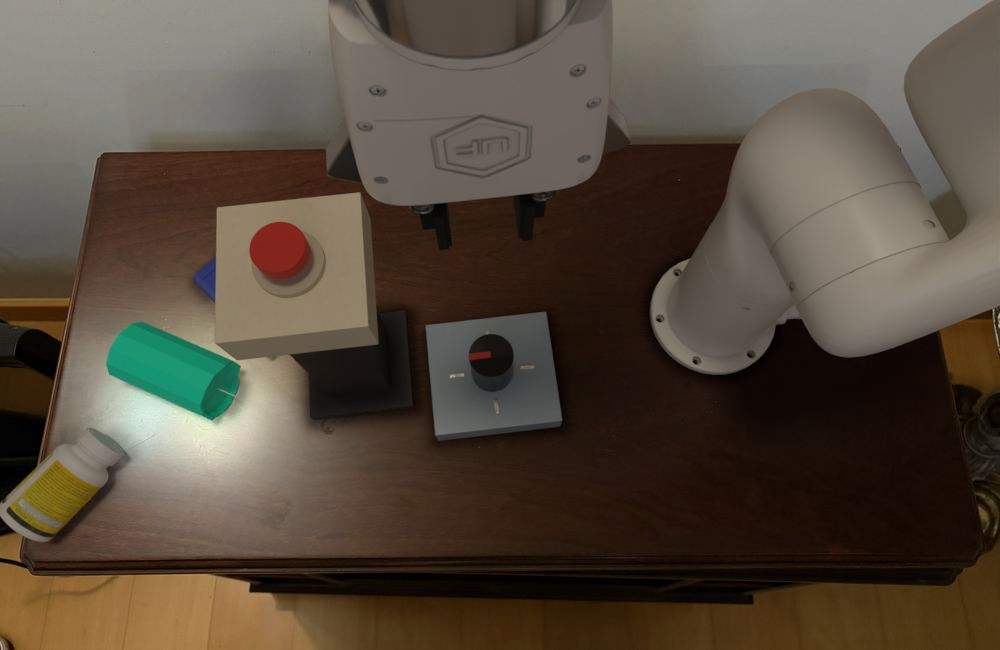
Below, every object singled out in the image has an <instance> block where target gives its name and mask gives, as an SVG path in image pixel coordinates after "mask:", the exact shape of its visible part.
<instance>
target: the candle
mask: <svg viewBox="0 0 1000 650" xmlns="http://www.w3.org/2000/svg"><path fill="white" fill-rule="evenodd" d="M105 365H106V369H107V373H108V375H110V376H111V377H114V378H115V379H118V380H120V381H122V382H124V383H127V384H129V385H131V386H134V388H135V387H136V388H138V389H140V390H142V391H144V392H147V393H149V394H151V395H154V396H156V397H157V398H160V399H163V400H165V401H166V402H168V403H171V404H173V405H175V406H178V407H180V408H183V409H185V410H187V411H189V412H191V413H193V414H195V415H198V416H200V417H203V418H205V419H207V420H210V421H214V420H216V419H217V418H219V417H220V416H222V414H223V413H224V412H225V411H226V410H228V408H229V407H230V406H231V405H232V404H233V401H234V399H235V398H236V399H237V398H238V395H237V393H238V390H239V377H240V370H241V367H242V366H241V365H240V364H239V363H237V362H235V361H234V360H232V359H230V358H228V357H225V356H223V355H221V354H218V353H216V352H214V351H211V350H209V349H207V348H205V347H202V346H200V345H198V344H196V343H193V342H191V341H188V340H186V339H184V338H181V337H179V336H177V335H176V334H175V335H174V334H172V333H170V332H168V331H165V330H163V329H161V328H158V327H156V326H154V325H151V324H149V323H147V322H145V321H138V322H134V323H133V322H132V323H130V324H129V325H127V326H126V327H125V328H124V329H123V330H121V331H120V332H119V333H118V334H117V336H116V337H115V339H114V340H113V342H112V344H110V347H109V348H108V353H107V357H106V361H105Z"/></svg>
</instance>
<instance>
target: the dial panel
mask: <svg viewBox="0 0 1000 650" xmlns="http://www.w3.org/2000/svg"><path fill="white" fill-rule="evenodd" d="M424 327H425V337H426V348H427V349H426V350H427V357H428V372H429V382H430V395H431V406H432V416H433V427H434V428H433V429H434V436H435V437H436V440H437V441H438V442H440V441H450V440H451V441H452V440H458V439H466V438H475V437H484V436H493V435H500V434H509V433H518V432H527V431H533V430H543V429H551V428H561V425H562V422H563V416H562V415H563V414H562V408H561V402H560V394H559V389H558V381H557V375H556V367H555V361H554V356H553V348H552V341H551V334H550V327H549V322H548V314H547V311H540V312H539V311H538V312H529V313H522V314H521V313H520V314H512V315H504V316H495V317H487V318H486V317H485V318H478V319H476V318H475V319H467V320H460V321H451V322H440V323H434V324H433V323H431V324H425V326H424ZM486 334H497V335H500V336H502V337H504V338H505V339H506V340H508V342H509V343H510V344H511V346H512V348H513V352H514V363H513V376H512V379H511V381H510V383H509V384H508V385H507V386H506V387H505V388H503V389H502V390H499V391H495V392H489V391H485V390H483V389H481V388H479V387H478V386H477V385H476V384H475V382H474V380H473V378H472V374H471V368H470V362H469V350H470V347H471V345H472V344H473V342H474V341H475V340H476V339H478V338H479V337H481V336H483V335H486Z"/></svg>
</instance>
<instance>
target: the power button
mask: <svg viewBox="0 0 1000 650" xmlns="http://www.w3.org/2000/svg"><path fill="white" fill-rule="evenodd" d="M249 253H250V257H251V260H252V262H253V263H254V264H255V266H256V267H257V268H258V269H259V271H260V272H261V273H262V274H264V275H265V276H267V277H269V278H272V279H287V278H291V277H293V276H295V275H297V274H298V273H300V272H301V271H302V270H303V269H304V267H305V266H306V265H307V263H308V260H309V257H310V246H309V243H308V241H307V240H306V238H305V236H304V235H303V233H302V231H301V230H300V229H299V228H298V227H296V226H295V225H293V224H290V223H287V222H273V223H270V224H267V225H265V226H264V227H262V228H261V229H259V230H258V231H257V232H256V233H255V235H254V236H253V238H252V240H251V243H250V247H249Z"/></svg>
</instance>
